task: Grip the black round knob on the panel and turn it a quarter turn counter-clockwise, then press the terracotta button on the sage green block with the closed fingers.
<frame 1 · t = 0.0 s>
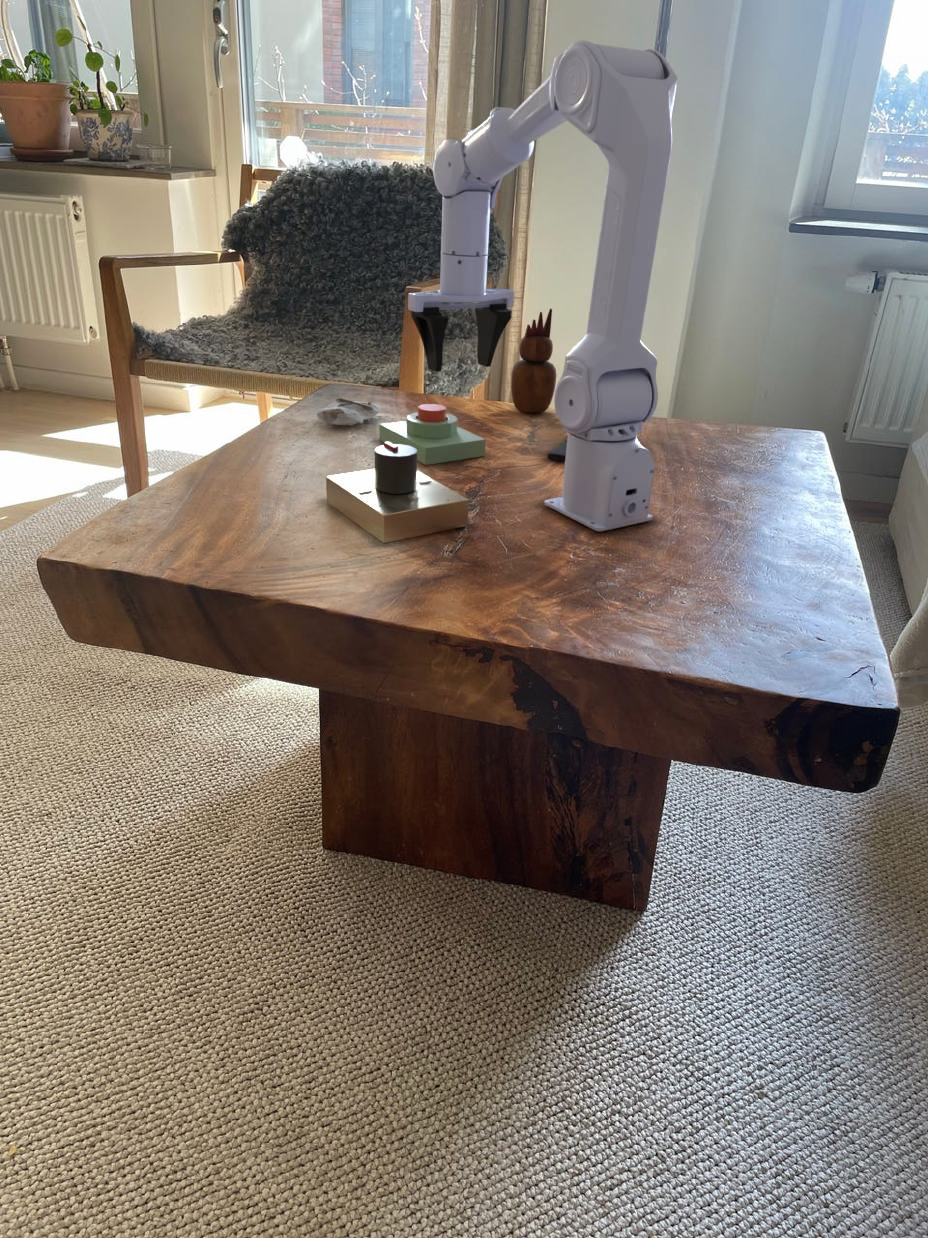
hand: (459, 367, 114), 10 cm above the table, tool pointing down, fingers open, 7 cm apart
button: (432, 413, 115), point 4 cm above the table, slide at 0.1 cm
stone: (349, 422, 127), on the table
button block: (431, 447, 117), on the table
panel: (395, 514, 95), on the table
wooden figurine: (530, 412, 136), on the table
dial: (395, 467, 93), point 5 cm above the table, hinge at 0.0°
smartphone: (590, 450, 119), on the table
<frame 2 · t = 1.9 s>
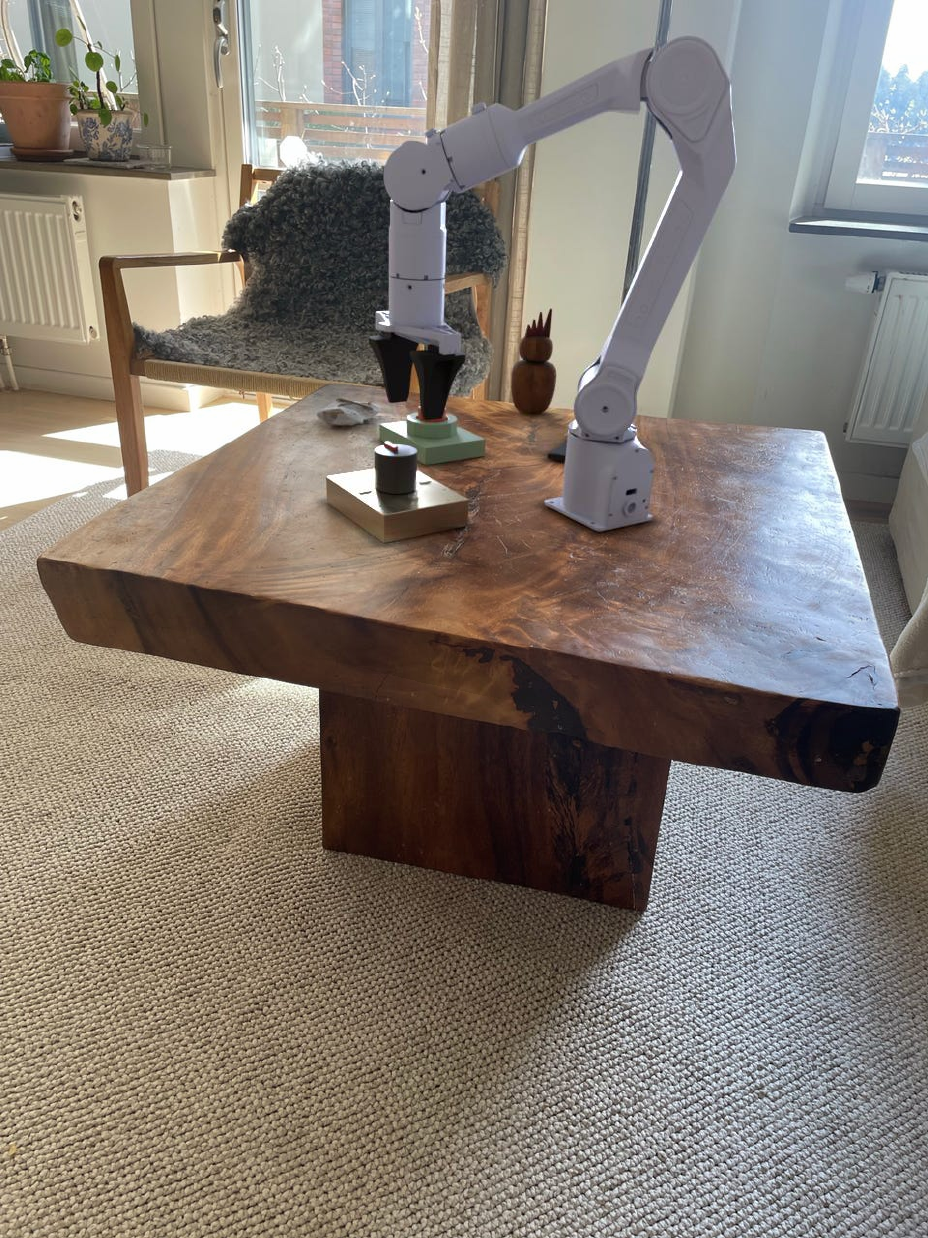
hand: (414, 409, 96), 10 cm above the table, tool pointing down, fingers open, 7 cm apart
nothing on the table moved.
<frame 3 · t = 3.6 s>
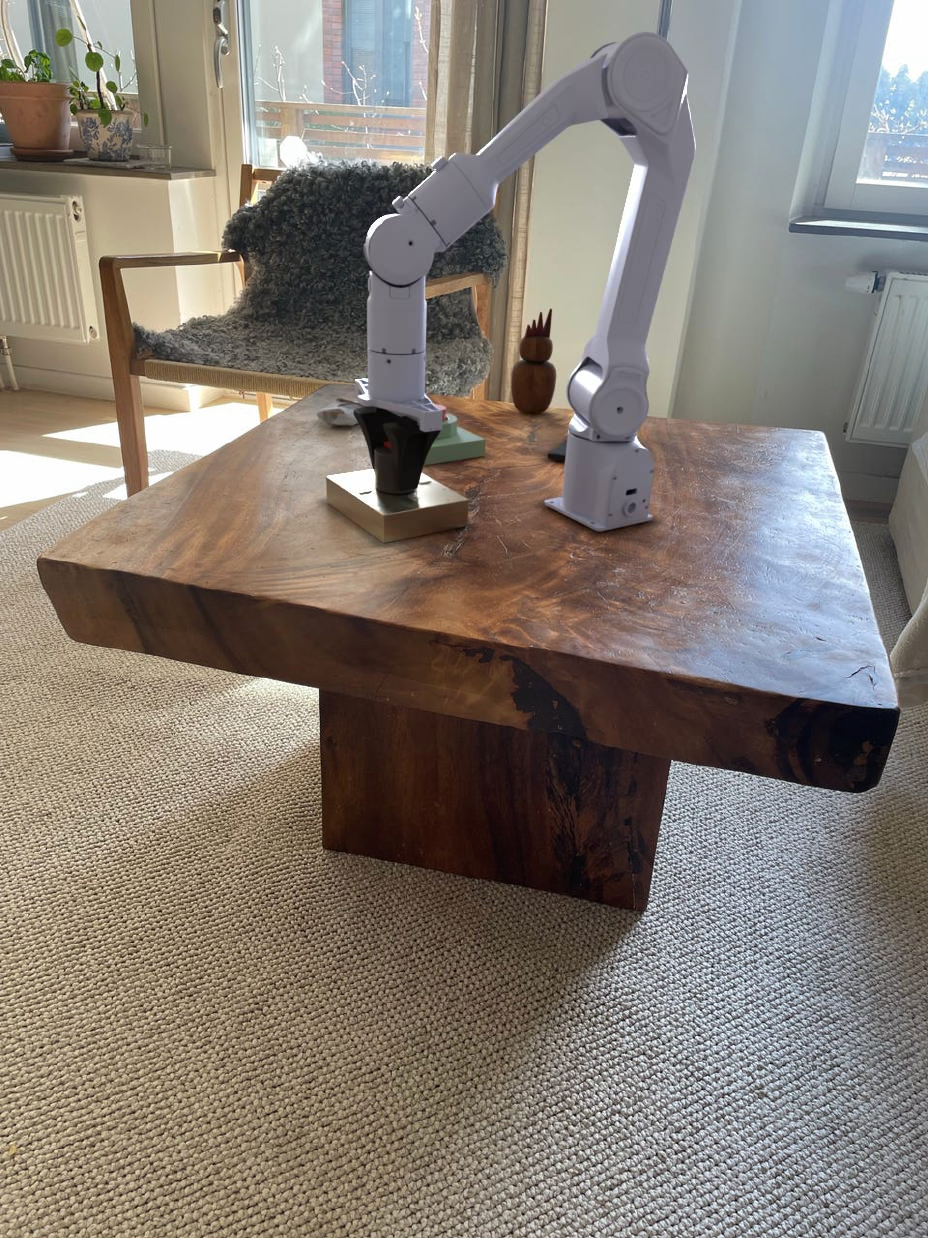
hand: (395, 481, 93), 4 cm above the table, tool pointing down, fingers closed on dial, 4 cm apart
dial: (395, 467, 93), point 5 cm above the table, hinge at 0.0°, touching gripper
everything else where it was.
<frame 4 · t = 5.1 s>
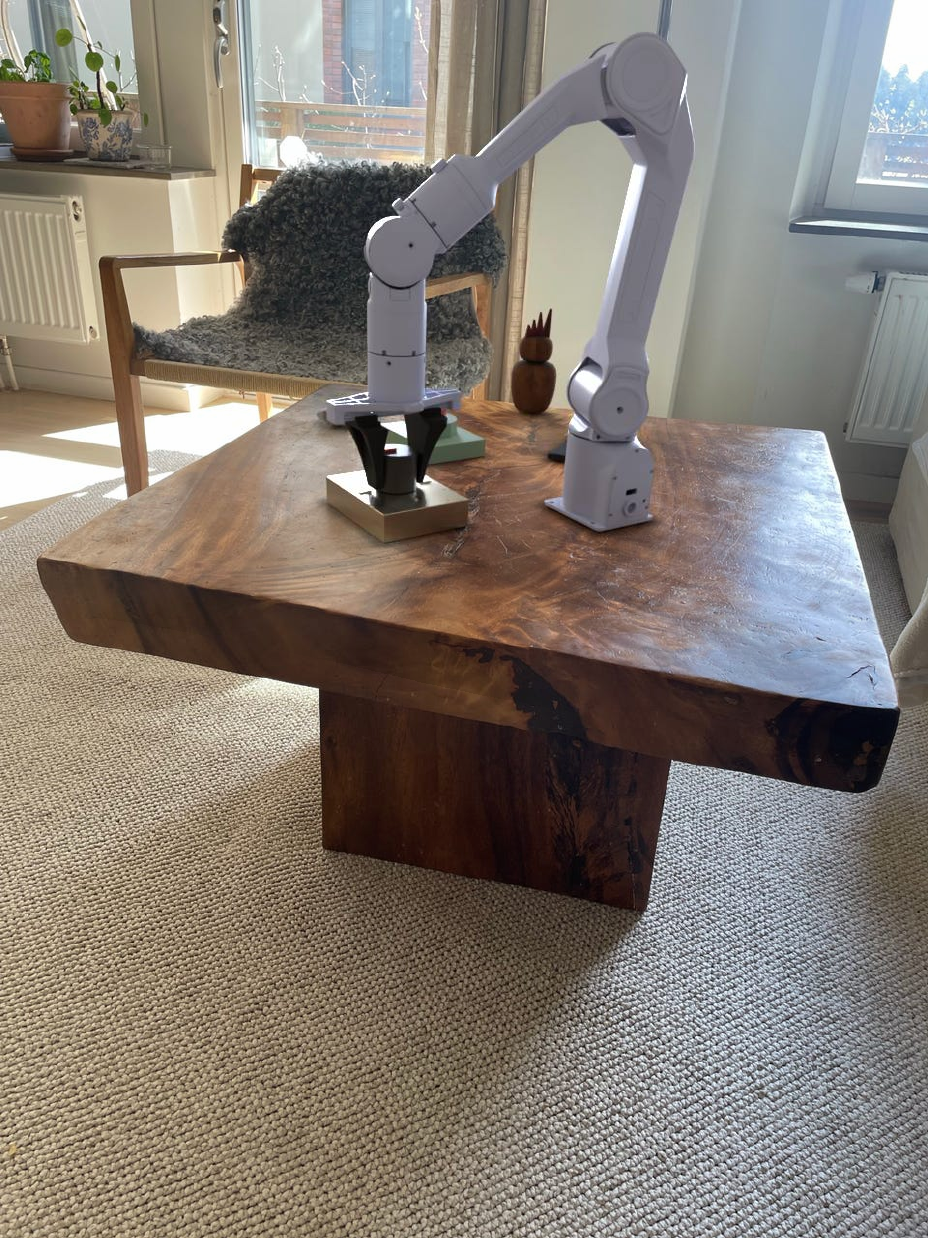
hand: (395, 483, 93), 3 cm above the table, tool pointing down, fingers closed on dial, 4 cm apart
dial: (395, 467, 93), point 5 cm above the table, hinge at 89.9°, touching gripper
everything else where it was.
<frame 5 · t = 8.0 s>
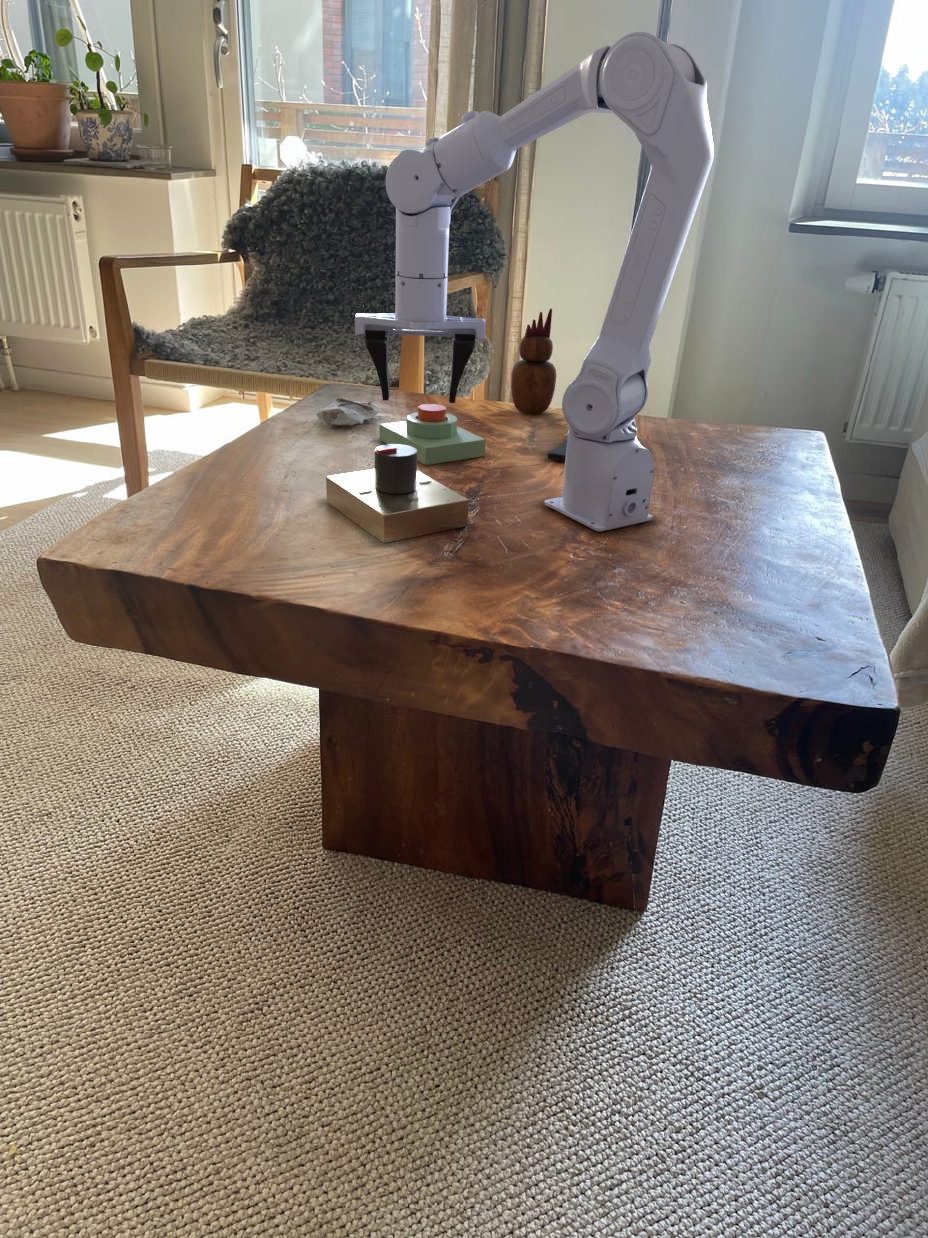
hand: (419, 399, 103), 9 cm above the table, tool pointing down, fingers open, 7 cm apart
dial: (395, 467, 93), point 5 cm above the table, hinge at 89.7°
everything else where it was.
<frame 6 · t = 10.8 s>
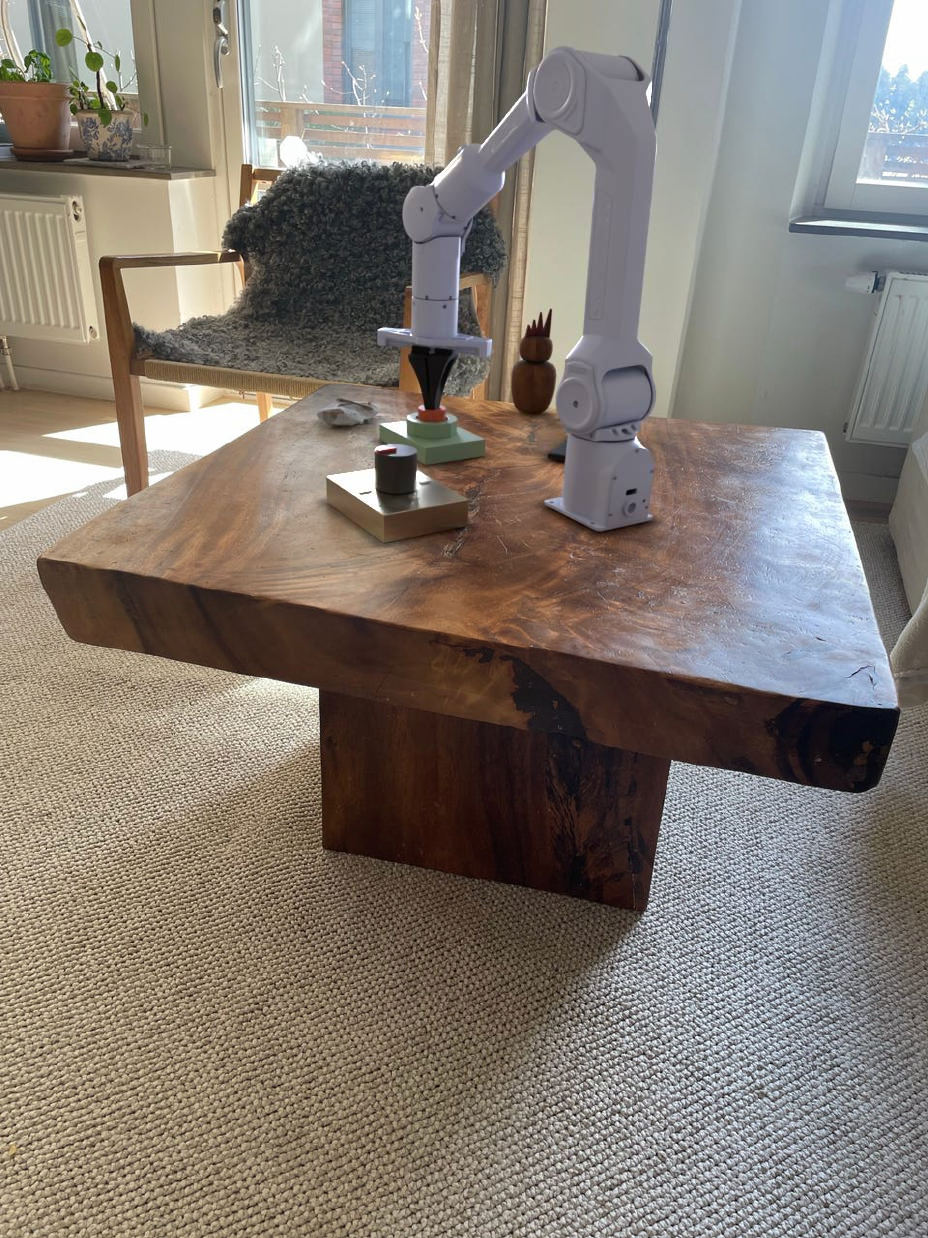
hand: (432, 408, 114), 5 cm above the table, tool pointing down, fingers closed, pressing on button
button: (432, 414, 115), point 4 cm above the table, slide at 0.0 cm, touching gripper
everything else where it was.
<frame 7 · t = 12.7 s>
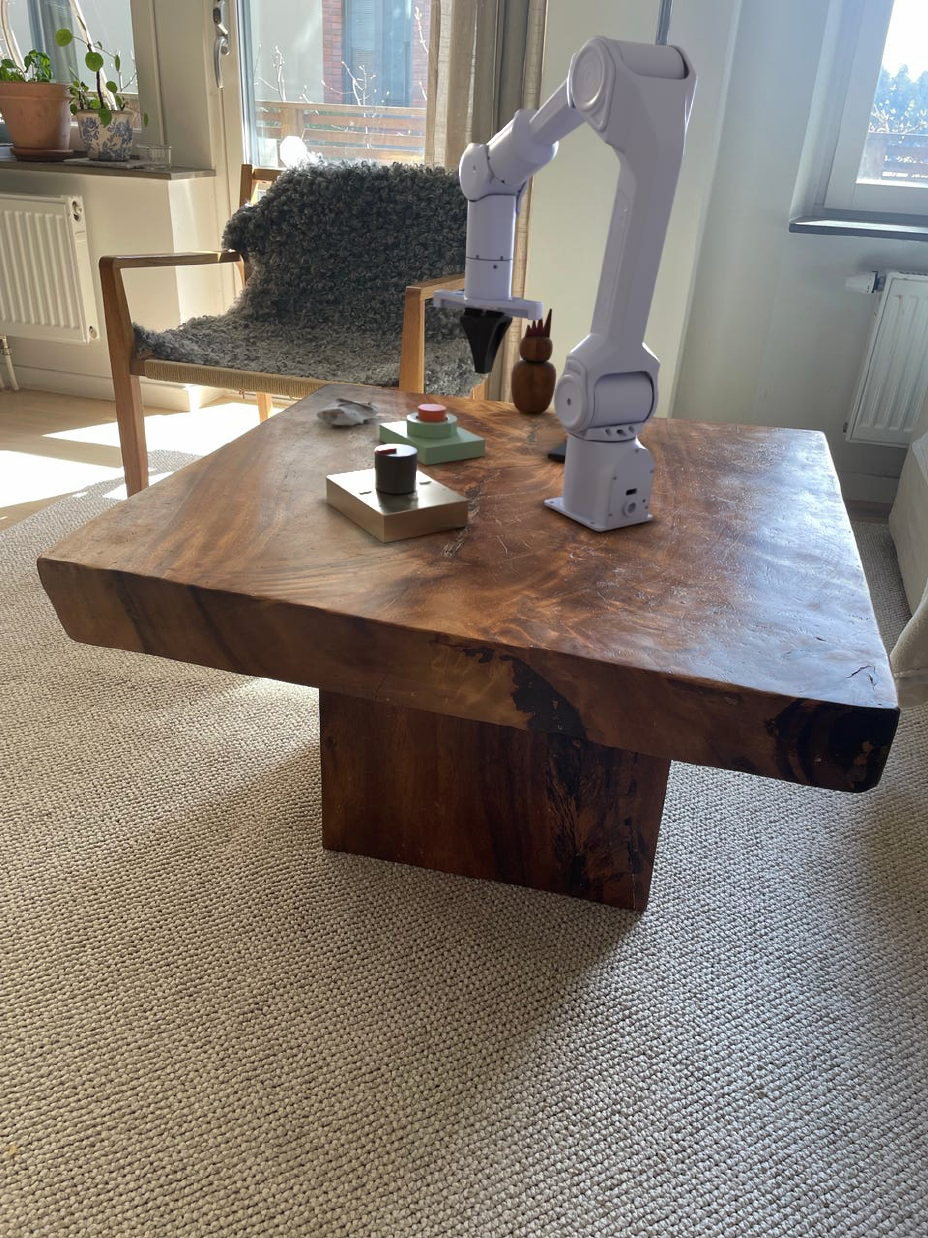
hand: (483, 372, 113), 10 cm above the table, tool pointing down, fingers closed
button: (432, 413, 115), point 4 cm above the table, slide at 0.1 cm
everything else where it was.
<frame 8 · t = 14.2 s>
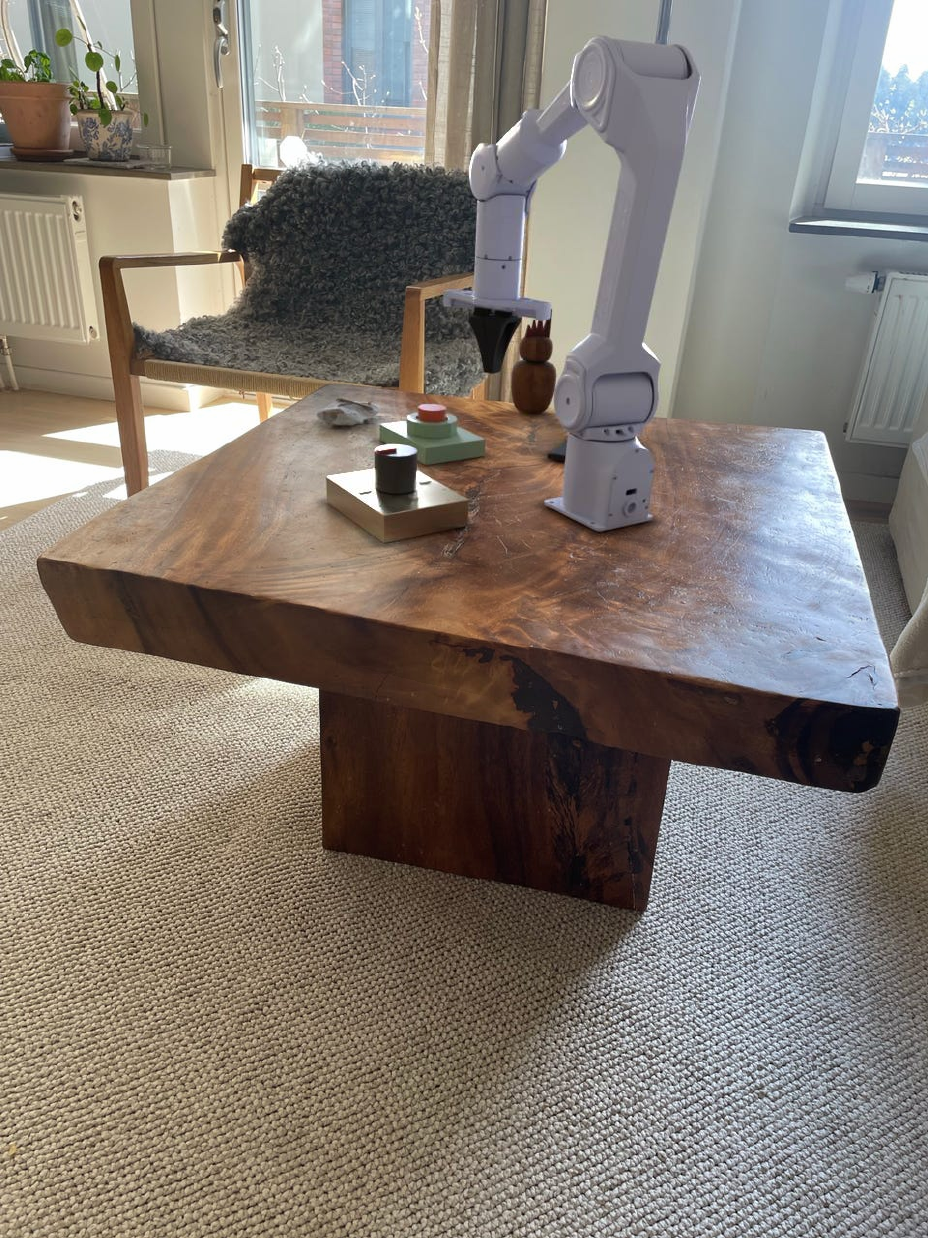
hand: (492, 371, 114), 10 cm above the table, tool pointing down, fingers closed
nothing on the table moved.
at the end: dial at +90° (first picture: +0°); button pushed in 1.2 cm at the most during the clip, back to where it started at the end; button slide at 0.1 cm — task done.
